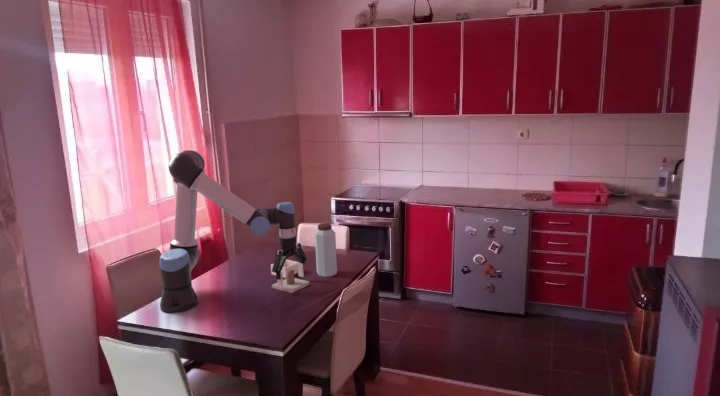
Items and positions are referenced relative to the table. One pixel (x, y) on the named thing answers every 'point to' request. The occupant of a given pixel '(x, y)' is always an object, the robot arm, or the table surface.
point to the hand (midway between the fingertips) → (291, 281)
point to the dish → (287, 267)
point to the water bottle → (325, 250)
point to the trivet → (290, 292)
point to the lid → (291, 282)
